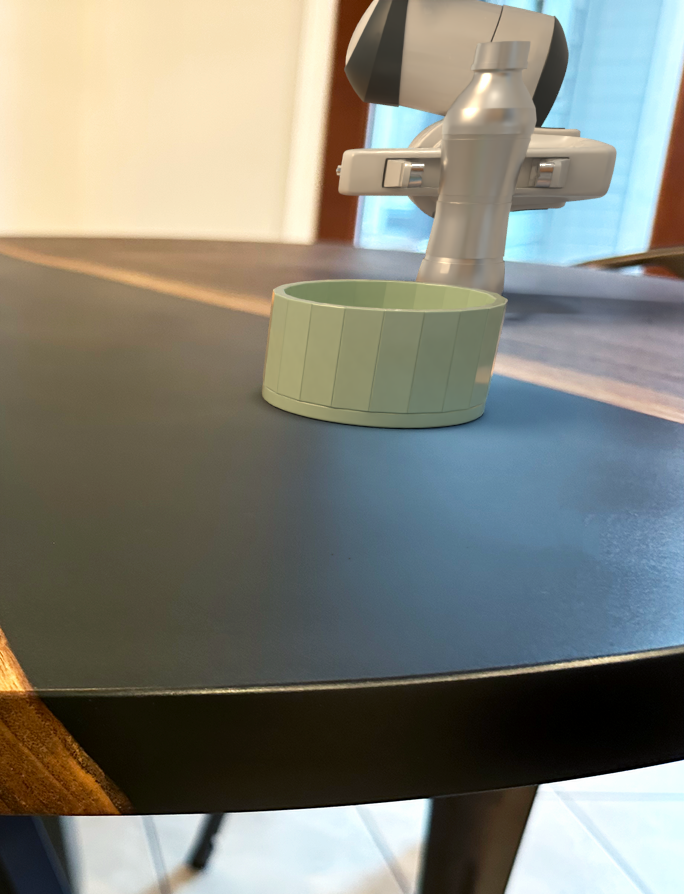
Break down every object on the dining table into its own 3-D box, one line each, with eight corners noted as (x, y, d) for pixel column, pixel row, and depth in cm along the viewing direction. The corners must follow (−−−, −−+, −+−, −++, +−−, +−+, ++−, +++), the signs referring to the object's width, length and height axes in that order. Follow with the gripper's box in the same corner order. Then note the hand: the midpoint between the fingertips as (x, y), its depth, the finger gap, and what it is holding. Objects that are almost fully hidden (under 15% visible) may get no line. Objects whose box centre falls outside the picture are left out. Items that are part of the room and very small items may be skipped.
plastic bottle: (500, 316, 83) (556, 43, 75) (492, 329, 78) (551, 37, 70) (416, 310, 86) (461, 47, 79) (402, 322, 81) (449, 42, 73)
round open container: (416, 375, 64) (433, 277, 62) (530, 425, 53) (557, 308, 51) (232, 380, 63) (243, 281, 61) (311, 431, 52) (327, 313, 50)
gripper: (340, 132, 92) (341, 132, 80) (599, 128, 86) (641, 128, 74) (331, 205, 95) (330, 216, 83) (581, 207, 88) (620, 219, 76)
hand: (479, 175), depth 78 cm, fingers open, 8 cm apart
